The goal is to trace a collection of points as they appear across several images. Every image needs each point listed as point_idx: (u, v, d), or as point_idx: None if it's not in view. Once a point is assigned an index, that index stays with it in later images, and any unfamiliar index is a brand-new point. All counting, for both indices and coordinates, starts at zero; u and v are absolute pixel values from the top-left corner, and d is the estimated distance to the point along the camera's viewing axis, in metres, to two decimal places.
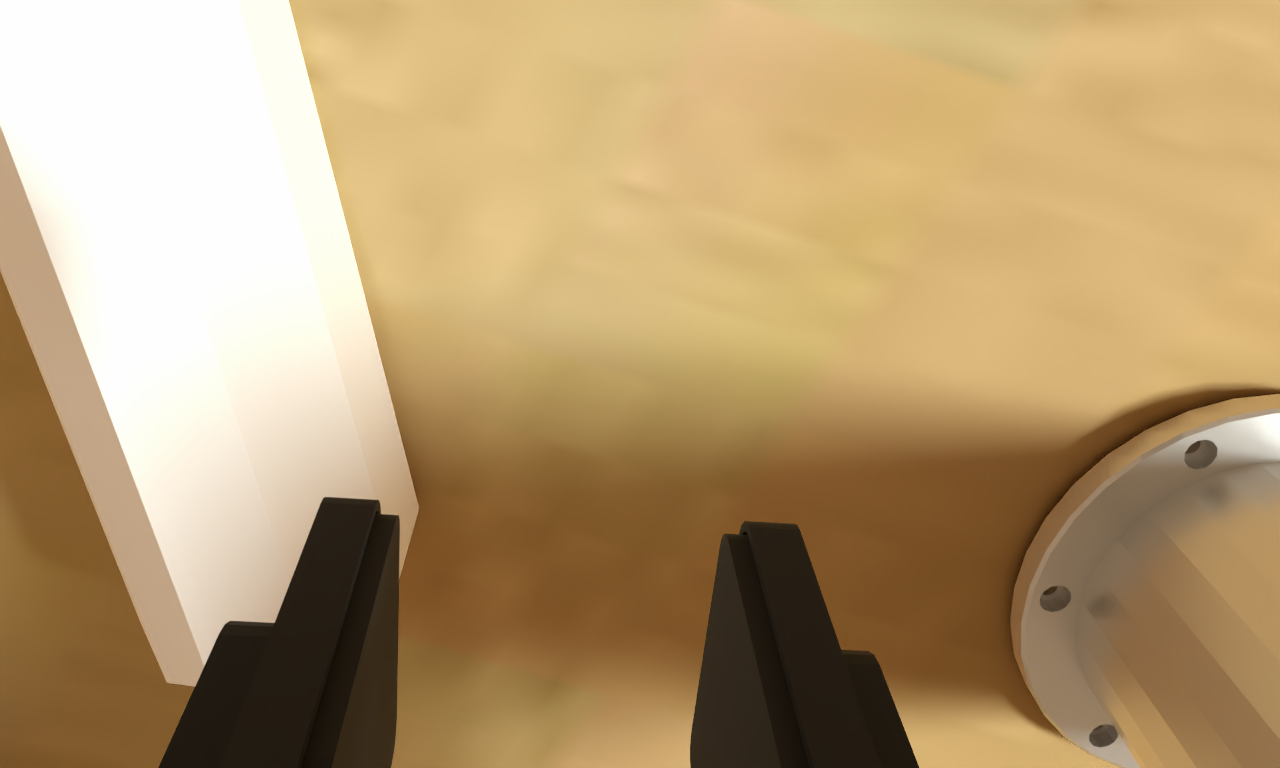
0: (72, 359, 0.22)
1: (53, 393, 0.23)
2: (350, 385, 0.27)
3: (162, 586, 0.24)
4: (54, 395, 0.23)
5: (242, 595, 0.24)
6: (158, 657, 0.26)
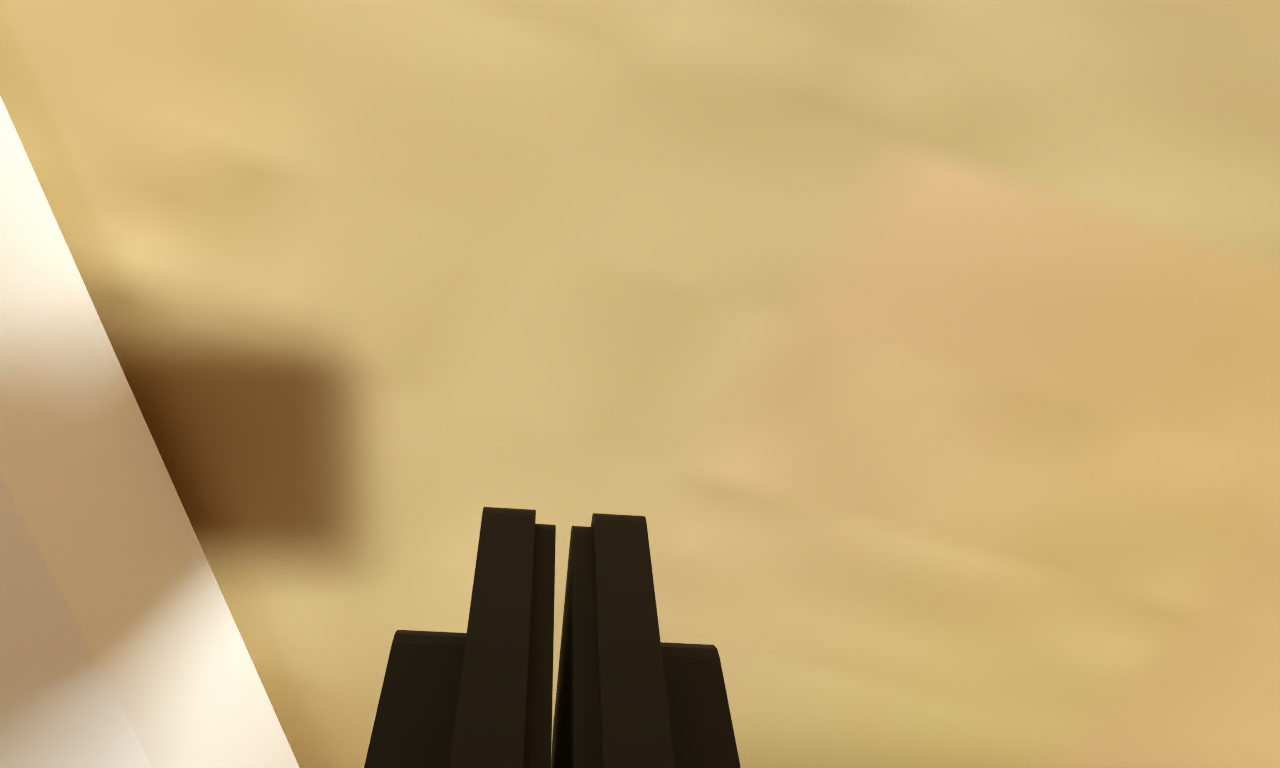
0: None
1: None
2: None
3: None
4: None
5: None
6: None
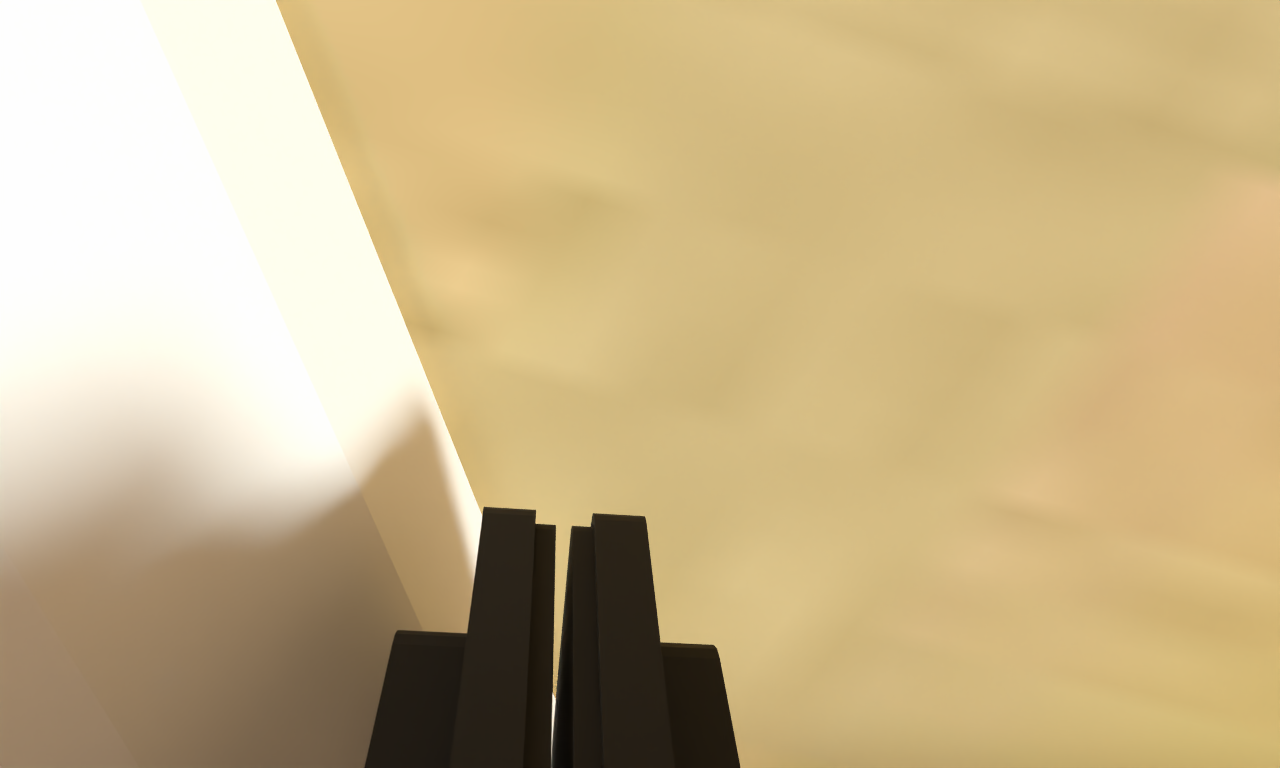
0: None
1: None
2: None
3: None
4: None
5: None
6: None
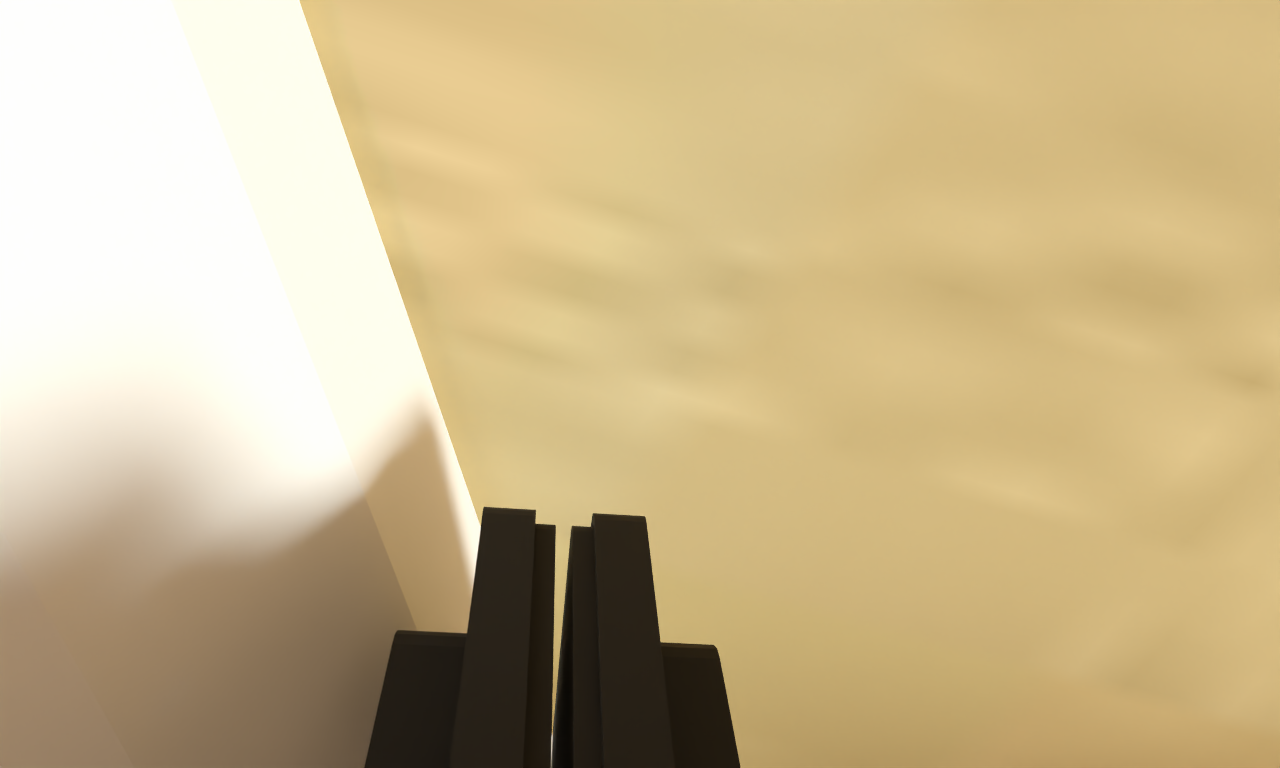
0: None
1: None
2: None
3: None
4: None
5: None
6: None
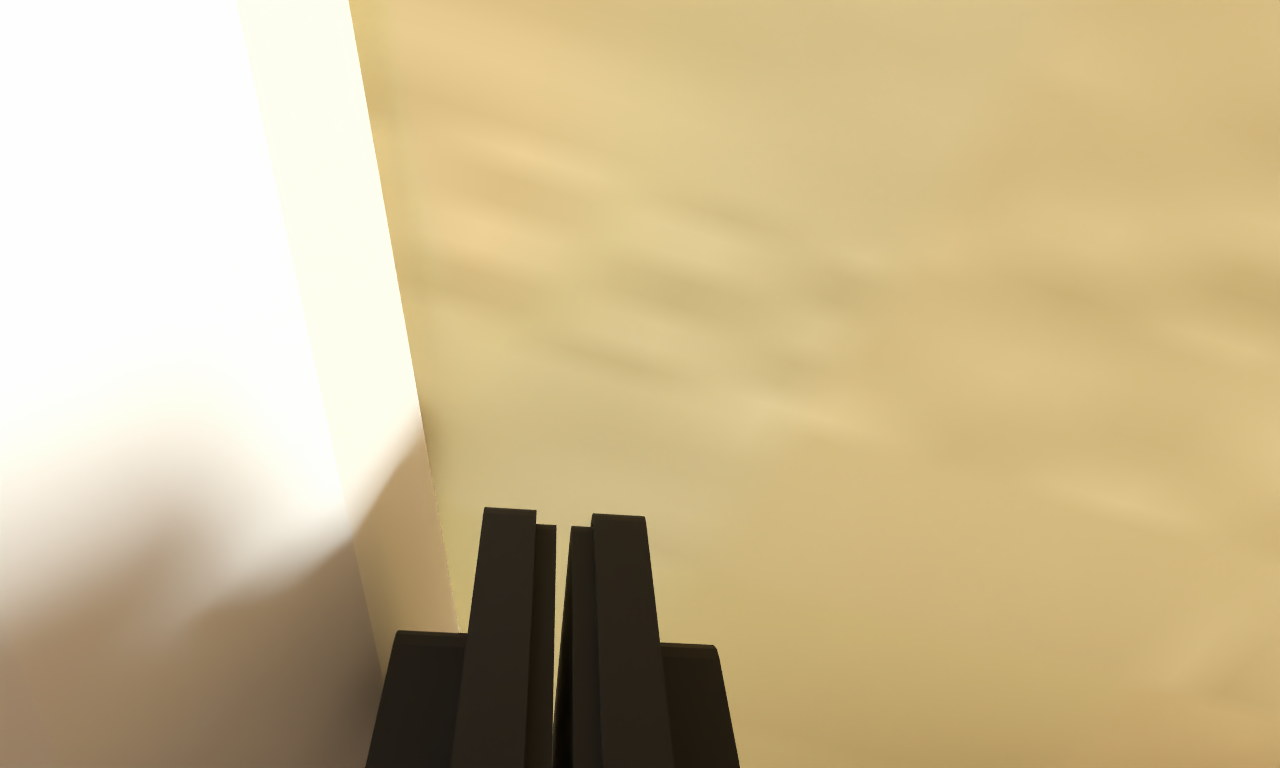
0: None
1: None
2: None
3: None
4: None
5: None
6: None
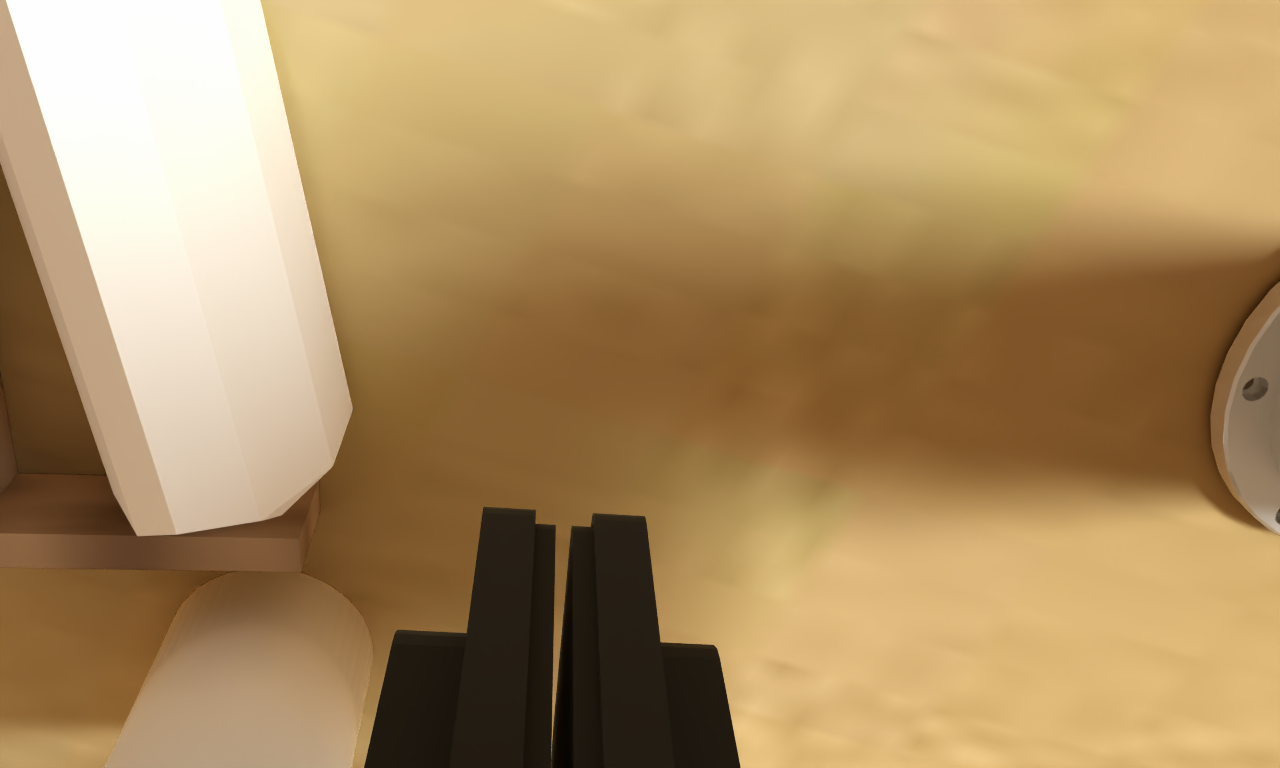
0: (73, 255, 0.27)
1: (54, 286, 0.28)
2: (296, 296, 0.32)
3: (138, 447, 0.29)
4: (55, 287, 0.28)
5: (203, 459, 0.30)
6: (131, 513, 0.31)
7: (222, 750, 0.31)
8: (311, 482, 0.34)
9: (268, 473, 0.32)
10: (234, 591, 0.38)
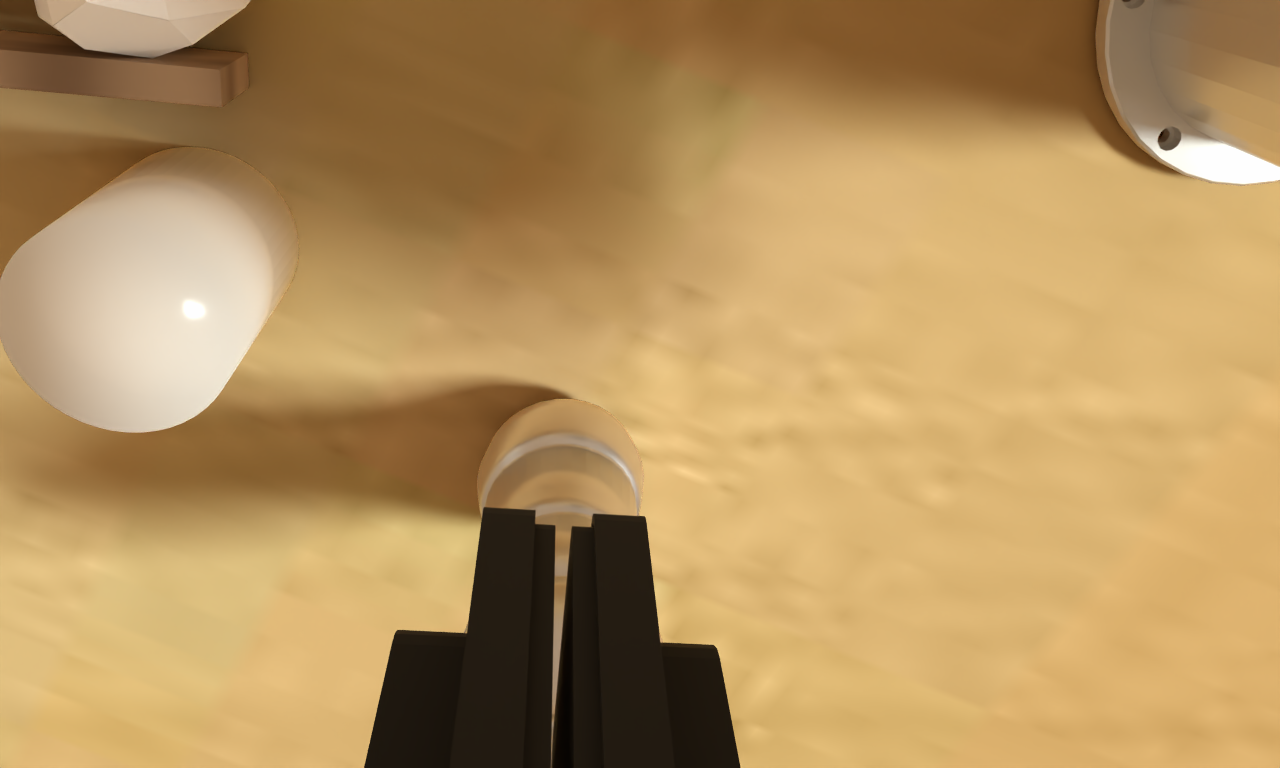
0: None
1: None
2: None
3: None
4: None
5: None
6: None
7: (133, 218, 0.33)
8: (222, 11, 0.36)
9: None
10: (165, 156, 0.40)
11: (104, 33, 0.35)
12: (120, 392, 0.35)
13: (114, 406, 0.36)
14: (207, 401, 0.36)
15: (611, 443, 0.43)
